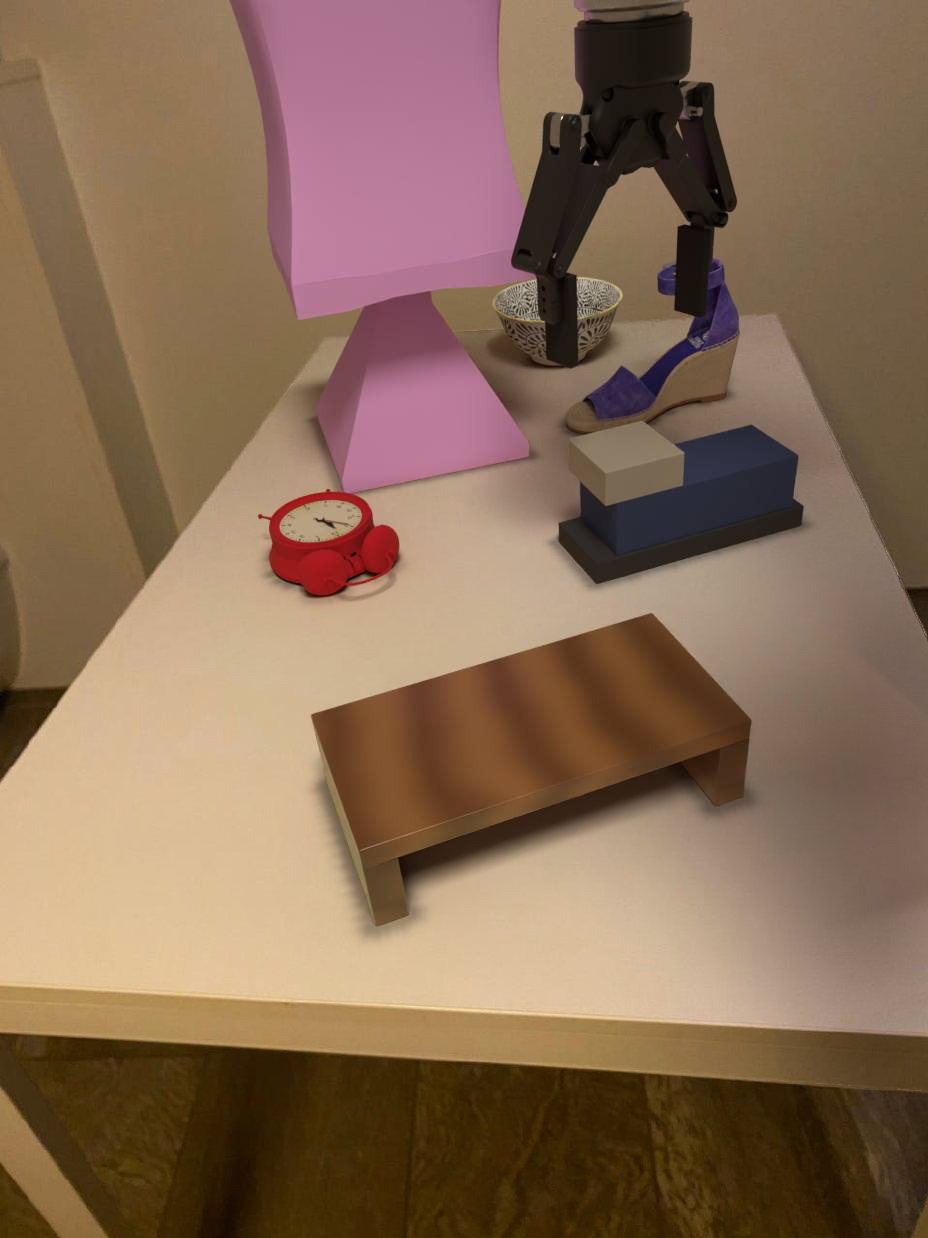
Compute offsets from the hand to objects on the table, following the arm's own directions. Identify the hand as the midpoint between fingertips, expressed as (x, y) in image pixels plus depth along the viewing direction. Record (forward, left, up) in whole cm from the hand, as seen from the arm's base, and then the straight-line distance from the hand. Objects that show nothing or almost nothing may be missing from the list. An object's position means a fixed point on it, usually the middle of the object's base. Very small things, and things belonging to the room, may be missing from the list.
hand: (628, 337), depth 74 cm
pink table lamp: (+32, 0, -19) cm, 37 cm away
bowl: (+38, -26, -19) cm, 49 cm away
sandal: (+18, -22, -19) cm, 34 cm away
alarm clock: (+16, +20, -19) cm, 32 cm away
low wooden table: (-17, +25, -19) cm, 36 cm away
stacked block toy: (-2, -5, -19) cm, 19 cm away
